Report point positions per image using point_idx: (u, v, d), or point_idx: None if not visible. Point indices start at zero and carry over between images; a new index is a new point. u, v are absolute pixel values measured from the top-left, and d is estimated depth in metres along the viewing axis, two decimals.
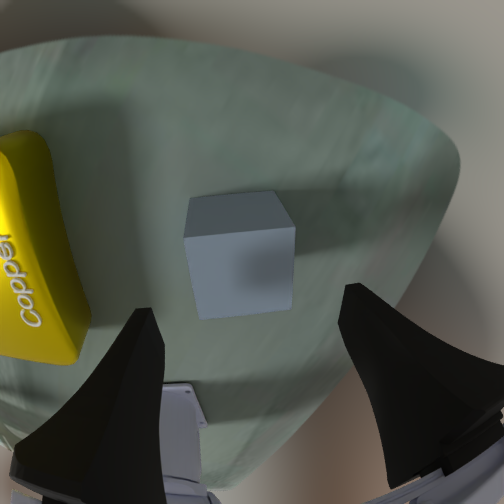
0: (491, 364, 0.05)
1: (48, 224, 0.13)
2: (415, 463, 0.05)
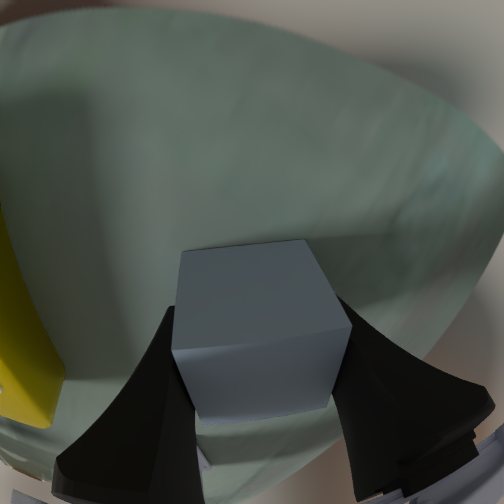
0: (462, 381, 0.05)
1: None
2: (376, 479, 0.05)
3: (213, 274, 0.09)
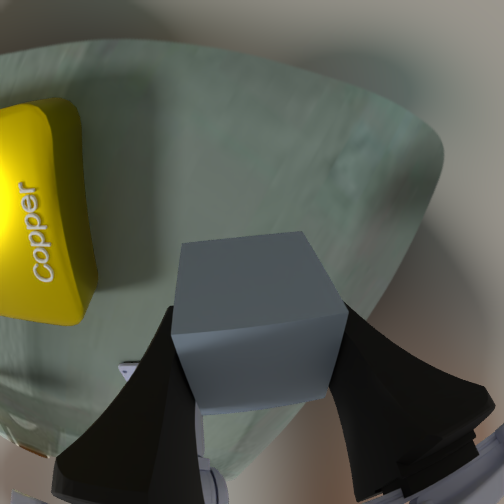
0: (462, 381, 0.05)
1: (72, 184, 0.14)
2: (376, 479, 0.05)
3: (212, 263, 0.09)
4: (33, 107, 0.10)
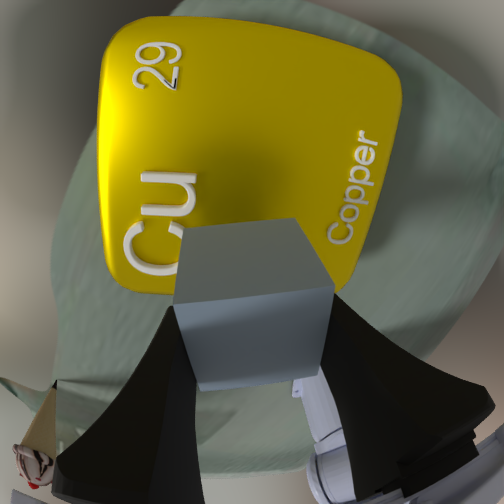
0: (462, 381, 0.05)
1: None
2: (376, 479, 0.05)
3: (211, 245, 0.10)
4: (390, 66, 0.11)
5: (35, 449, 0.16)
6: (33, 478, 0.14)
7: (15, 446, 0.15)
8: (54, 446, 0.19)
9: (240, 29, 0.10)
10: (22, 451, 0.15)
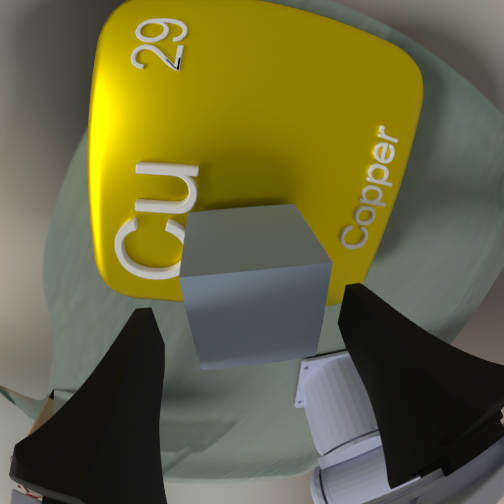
0: (491, 364, 0.05)
1: None
2: (415, 463, 0.05)
3: (215, 227, 0.11)
4: (412, 59, 0.10)
5: None
6: (31, 490, 0.12)
7: None
8: None
9: (254, 8, 0.08)
10: None
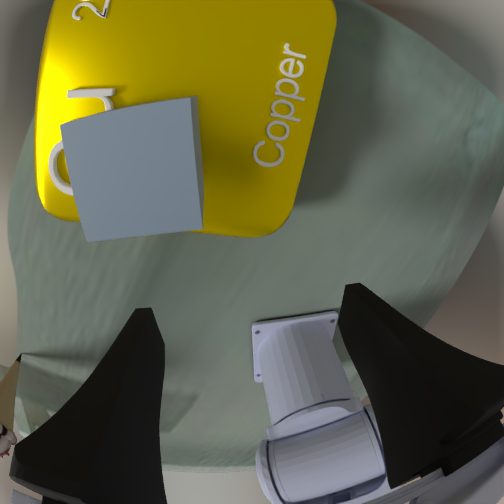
0: (491, 364, 0.05)
1: None
2: (415, 463, 0.05)
3: None
4: None
5: None
6: None
7: None
8: (11, 417, 0.17)
9: None
10: None
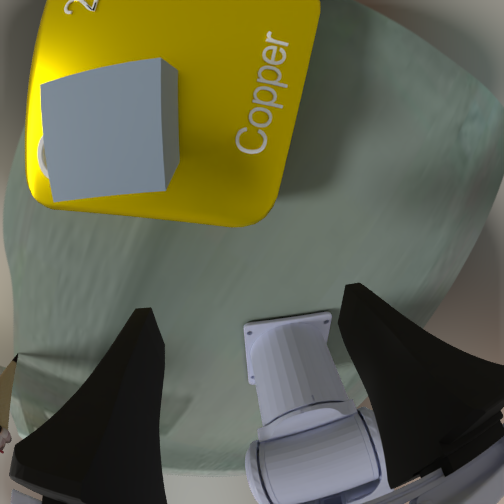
0: (491, 364, 0.05)
1: None
2: (415, 463, 0.05)
3: None
4: None
5: None
6: None
7: None
8: (6, 416, 0.17)
9: None
10: None
